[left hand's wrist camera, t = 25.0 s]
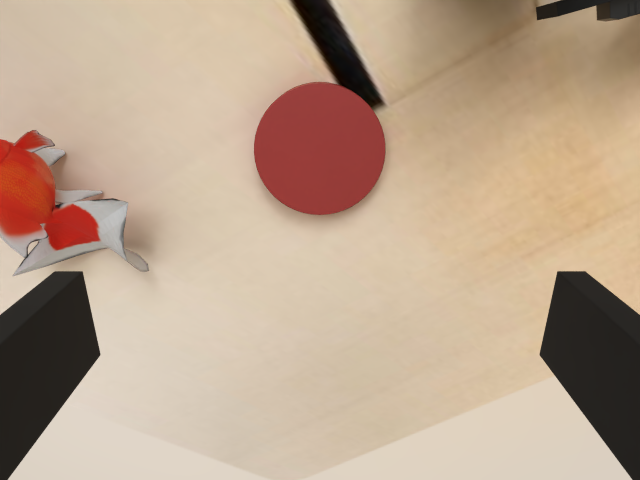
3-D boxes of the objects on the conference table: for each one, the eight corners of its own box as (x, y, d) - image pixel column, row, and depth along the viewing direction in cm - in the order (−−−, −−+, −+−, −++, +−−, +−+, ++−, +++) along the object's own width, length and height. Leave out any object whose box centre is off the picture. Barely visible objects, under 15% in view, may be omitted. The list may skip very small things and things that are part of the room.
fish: (59, 64, 30) (-29, 168, 24) (199, 211, 41) (161, 308, 35) (-35, 107, 35) (-129, 205, 29) (114, 231, 45) (68, 320, 40)
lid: (240, 102, 36) (236, 104, 34) (366, 66, 35) (369, 66, 33) (278, 219, 39) (276, 228, 38) (393, 190, 38) (397, 197, 37)
